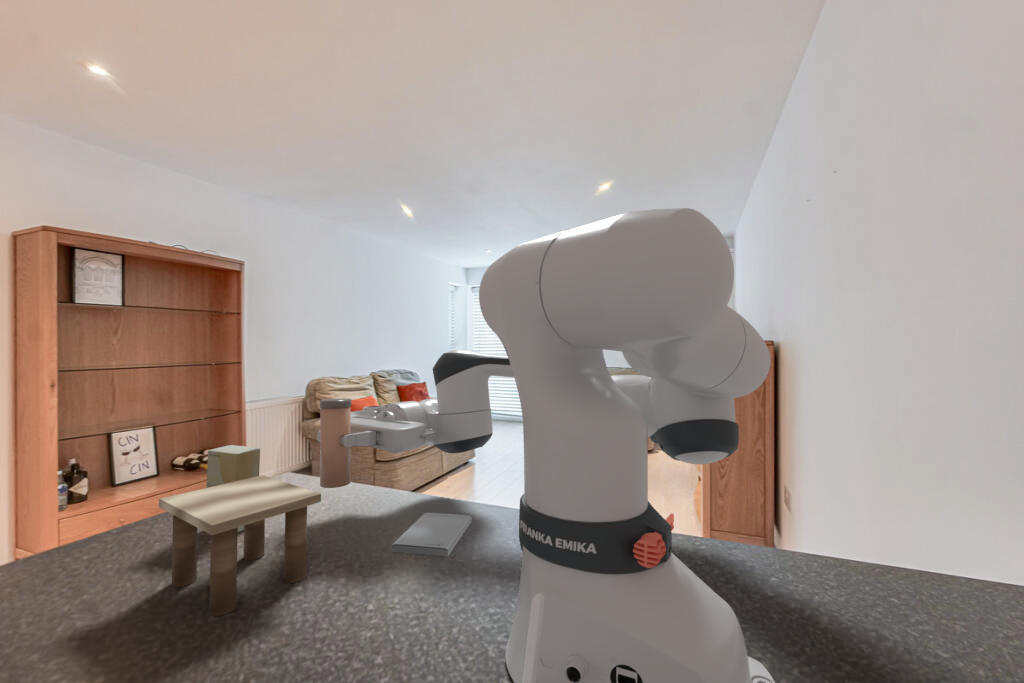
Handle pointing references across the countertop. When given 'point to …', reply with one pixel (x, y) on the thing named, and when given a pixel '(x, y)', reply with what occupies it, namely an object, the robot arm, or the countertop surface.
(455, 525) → the hard drive
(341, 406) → the spice jar
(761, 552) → the countertop surface
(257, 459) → the skincare box
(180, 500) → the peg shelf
